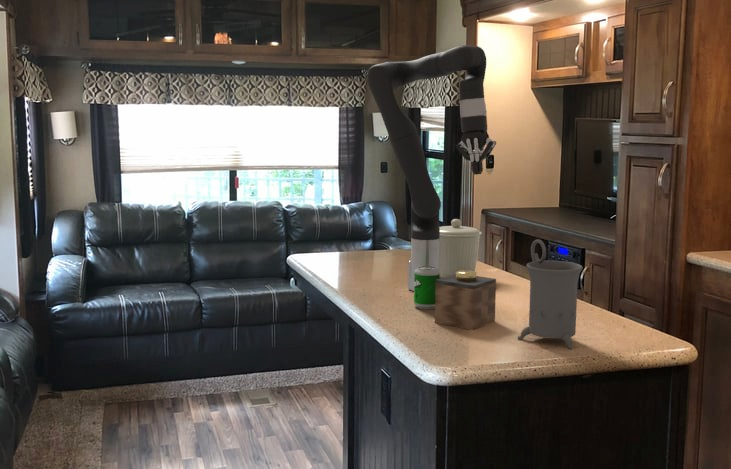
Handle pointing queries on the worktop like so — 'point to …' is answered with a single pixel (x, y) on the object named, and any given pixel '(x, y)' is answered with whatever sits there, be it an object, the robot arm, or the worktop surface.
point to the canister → (457, 248)
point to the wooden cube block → (465, 302)
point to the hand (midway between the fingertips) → (477, 174)
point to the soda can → (425, 286)
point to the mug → (552, 297)
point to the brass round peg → (466, 275)
